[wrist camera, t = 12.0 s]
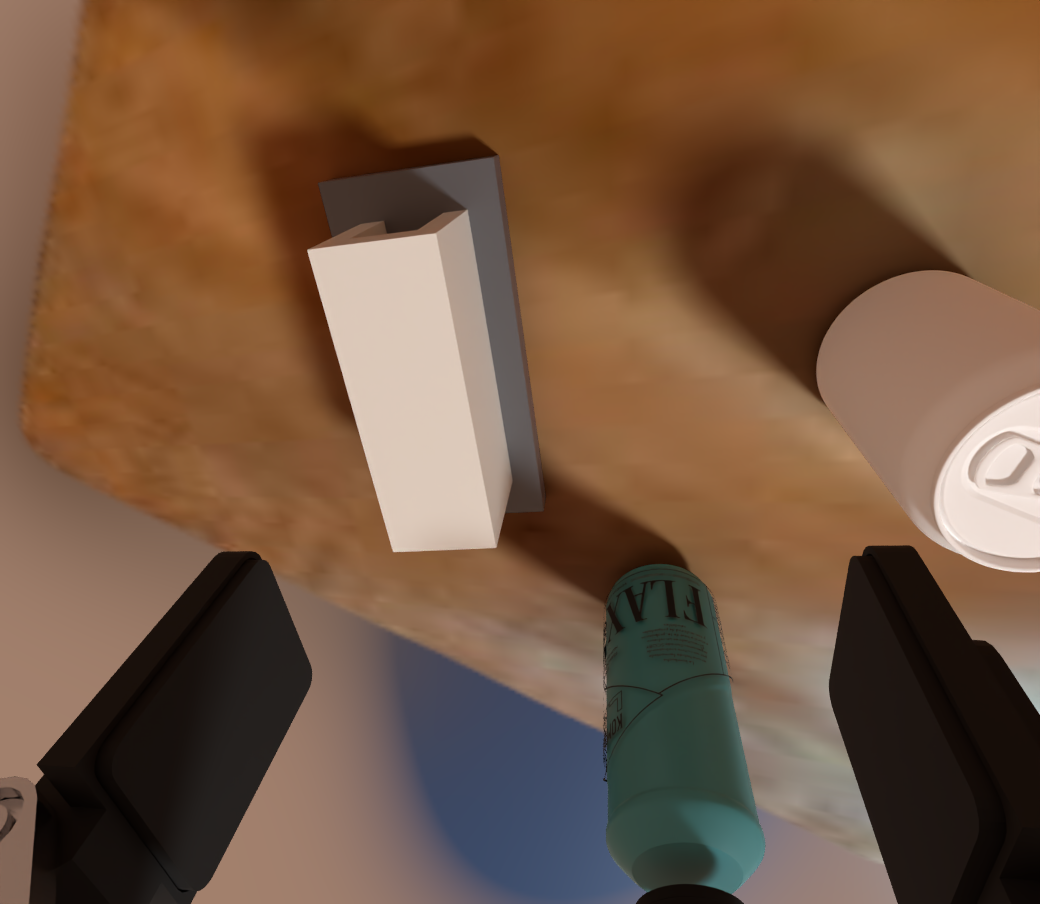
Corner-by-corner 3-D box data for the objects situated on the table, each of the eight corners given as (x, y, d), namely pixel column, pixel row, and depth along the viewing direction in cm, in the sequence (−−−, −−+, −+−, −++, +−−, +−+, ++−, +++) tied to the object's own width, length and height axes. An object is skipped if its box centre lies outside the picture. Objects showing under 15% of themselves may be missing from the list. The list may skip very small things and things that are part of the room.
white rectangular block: (360, 223, 29) (307, 249, 24) (467, 209, 28) (436, 233, 23) (424, 486, 35) (393, 552, 30) (512, 480, 34) (496, 547, 29)
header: (330, 179, 29) (277, 193, 25) (498, 154, 28) (476, 164, 23) (413, 503, 38) (385, 561, 33) (545, 496, 36) (537, 556, 32)
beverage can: (934, 446, 32) (1093, 609, 22) (783, 403, 32) (869, 547, 22) (1036, 294, 28) (1290, 404, 18) (864, 245, 28) (1017, 326, 18)
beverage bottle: (709, 540, 37) (806, 936, 19) (713, 626, 40) (799, 1036, 22) (596, 547, 38) (590, 926, 20) (608, 630, 41) (611, 1023, 23)
